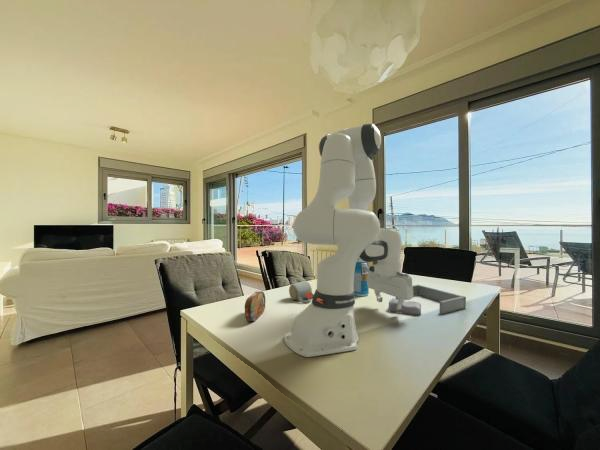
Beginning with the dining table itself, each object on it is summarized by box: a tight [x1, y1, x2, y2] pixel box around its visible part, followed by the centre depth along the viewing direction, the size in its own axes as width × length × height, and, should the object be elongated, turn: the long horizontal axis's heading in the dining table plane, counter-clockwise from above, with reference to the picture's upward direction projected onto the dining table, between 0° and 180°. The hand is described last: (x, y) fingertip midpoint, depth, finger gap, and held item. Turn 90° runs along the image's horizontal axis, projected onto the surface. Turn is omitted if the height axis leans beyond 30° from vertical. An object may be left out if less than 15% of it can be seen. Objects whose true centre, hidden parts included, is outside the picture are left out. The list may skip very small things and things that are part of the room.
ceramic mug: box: [288, 280, 313, 304], centre depth 117 cm, size 11×8×8 cm
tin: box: [244, 291, 266, 322], centre depth 97 cm, size 15×3×8 cm, turn 168°
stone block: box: [388, 297, 422, 316], centre depth 105 cm, size 12×5×10 cm
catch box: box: [395, 284, 467, 315], centre depth 114 cm, size 15×22×4 cm
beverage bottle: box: [353, 259, 370, 297], centre depth 127 cm, size 8×8×20 cm
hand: (388, 305), depth 102 cm, fingers open, 8 cm apart
